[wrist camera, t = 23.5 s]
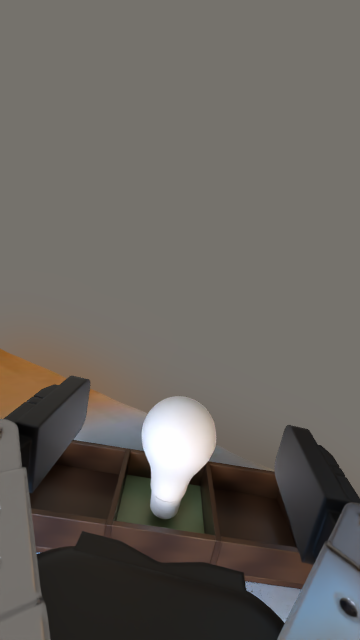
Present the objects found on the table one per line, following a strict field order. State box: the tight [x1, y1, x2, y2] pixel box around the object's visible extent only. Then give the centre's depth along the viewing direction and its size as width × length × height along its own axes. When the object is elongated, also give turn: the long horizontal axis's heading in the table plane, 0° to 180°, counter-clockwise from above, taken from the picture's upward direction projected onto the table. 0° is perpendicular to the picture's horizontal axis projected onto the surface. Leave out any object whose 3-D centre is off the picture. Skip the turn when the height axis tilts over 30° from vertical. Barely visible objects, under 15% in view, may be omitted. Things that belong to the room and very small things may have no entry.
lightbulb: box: [141, 396, 216, 519], centre depth 24 cm, size 6×6×11 cm
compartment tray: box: [29, 440, 313, 589], centre depth 25 cm, size 25×8×3 cm, turn 90°
